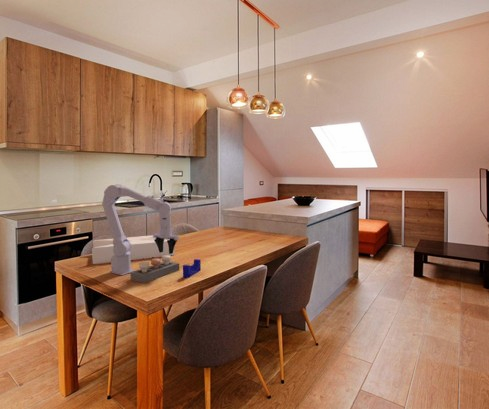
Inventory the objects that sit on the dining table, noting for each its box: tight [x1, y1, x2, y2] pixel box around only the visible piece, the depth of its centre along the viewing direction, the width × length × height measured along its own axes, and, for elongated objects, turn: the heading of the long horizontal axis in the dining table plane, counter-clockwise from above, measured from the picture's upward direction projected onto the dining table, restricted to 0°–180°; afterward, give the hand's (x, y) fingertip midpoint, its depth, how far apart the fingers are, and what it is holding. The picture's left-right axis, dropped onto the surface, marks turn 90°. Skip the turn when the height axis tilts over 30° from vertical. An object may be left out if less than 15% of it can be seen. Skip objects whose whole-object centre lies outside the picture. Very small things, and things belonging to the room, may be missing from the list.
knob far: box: [161, 255, 172, 266], centre depth 160 cm, size 4×4×5 cm
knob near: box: [138, 261, 150, 274], centre depth 149 cm, size 4×4×5 cm
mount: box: [129, 260, 180, 284], centre depth 155 cm, size 9×23×4 cm, turn 148°
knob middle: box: [150, 257, 161, 270], centre depth 155 cm, size 4×4×5 cm
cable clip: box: [182, 258, 202, 279], centre depth 156 cm, size 12×4×6 cm, turn 159°
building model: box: [91, 234, 176, 265], centre depth 192 cm, size 45×22×10 cm, turn 114°
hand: (166, 252), depth 160 cm, fingers open, 6 cm apart
